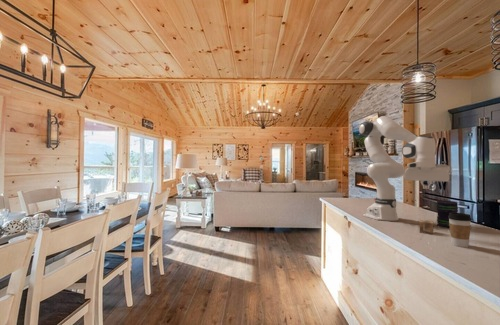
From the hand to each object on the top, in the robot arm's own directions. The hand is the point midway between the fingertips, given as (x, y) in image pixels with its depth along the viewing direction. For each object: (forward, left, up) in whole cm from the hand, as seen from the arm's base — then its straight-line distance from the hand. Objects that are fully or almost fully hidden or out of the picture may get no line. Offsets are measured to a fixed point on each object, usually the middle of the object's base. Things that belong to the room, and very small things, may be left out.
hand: (426, 188), depth 133 cm
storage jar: (-1, +22, -24) cm, 33 cm away
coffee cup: (+19, -9, -24) cm, 32 cm away
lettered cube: (0, -1, -24) cm, 24 cm away
